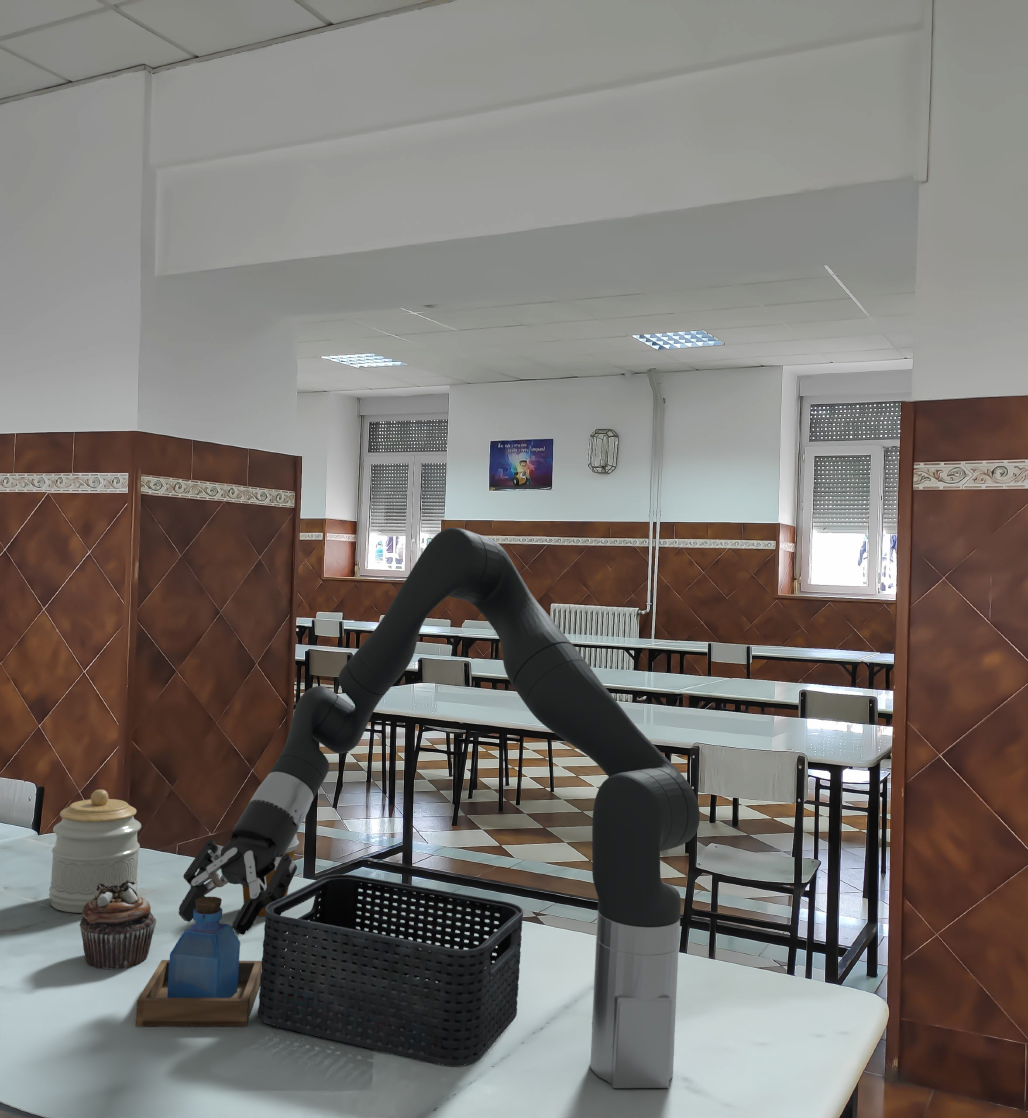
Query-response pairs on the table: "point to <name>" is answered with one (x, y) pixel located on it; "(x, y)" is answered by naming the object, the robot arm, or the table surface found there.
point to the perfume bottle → (205, 956)
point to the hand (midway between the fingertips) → (210, 924)
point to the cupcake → (117, 927)
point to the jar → (93, 850)
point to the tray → (198, 1002)
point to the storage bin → (392, 969)
